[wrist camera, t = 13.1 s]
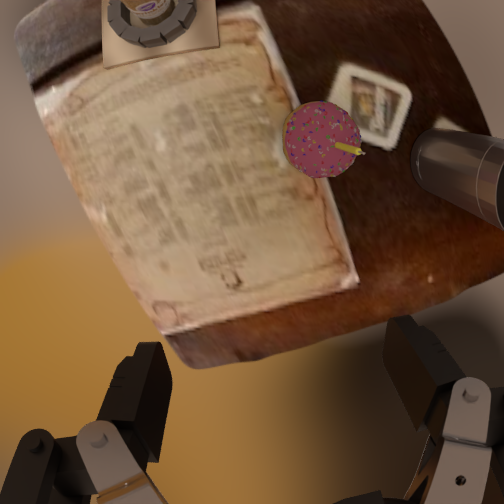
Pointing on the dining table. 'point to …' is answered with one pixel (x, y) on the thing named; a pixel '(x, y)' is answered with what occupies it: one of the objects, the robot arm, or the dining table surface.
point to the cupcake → (321, 139)
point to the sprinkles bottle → (151, 10)
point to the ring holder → (157, 32)
